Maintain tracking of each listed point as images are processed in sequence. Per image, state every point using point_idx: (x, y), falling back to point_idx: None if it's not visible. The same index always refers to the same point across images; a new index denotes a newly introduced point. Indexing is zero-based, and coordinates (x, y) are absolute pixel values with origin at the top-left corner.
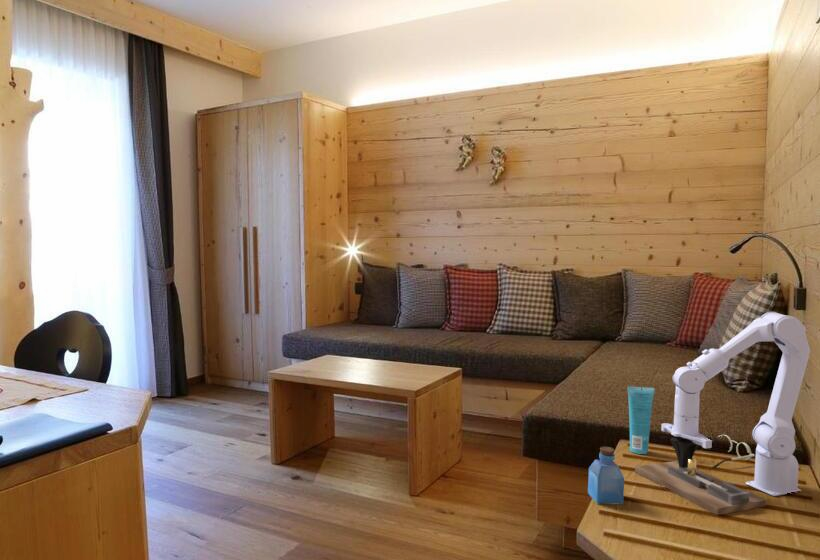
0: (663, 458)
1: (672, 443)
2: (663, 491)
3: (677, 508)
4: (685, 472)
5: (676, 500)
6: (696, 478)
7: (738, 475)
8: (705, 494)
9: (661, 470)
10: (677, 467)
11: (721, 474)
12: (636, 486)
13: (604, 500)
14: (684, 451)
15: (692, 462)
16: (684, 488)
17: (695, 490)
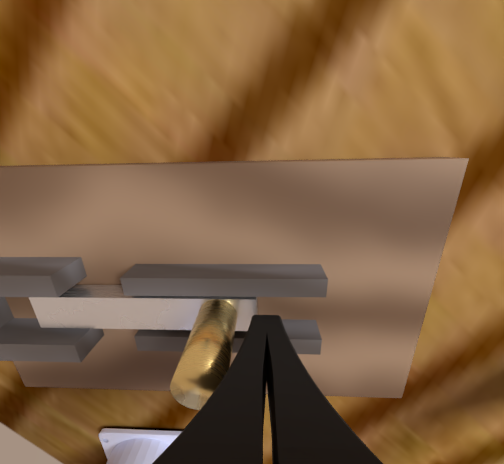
0: (474, 380)
1: (360, 452)
2: (200, 120)
3: (10, 30)
4: (247, 309)
5: (99, 104)
6: (171, 301)
7: None
8: (69, 238)
9: (355, 256)
10: (349, 343)
11: None
12: (294, 6)
13: None
14: (198, 412)
15: (180, 363)
16: (138, 196)
17: (111, 228)
